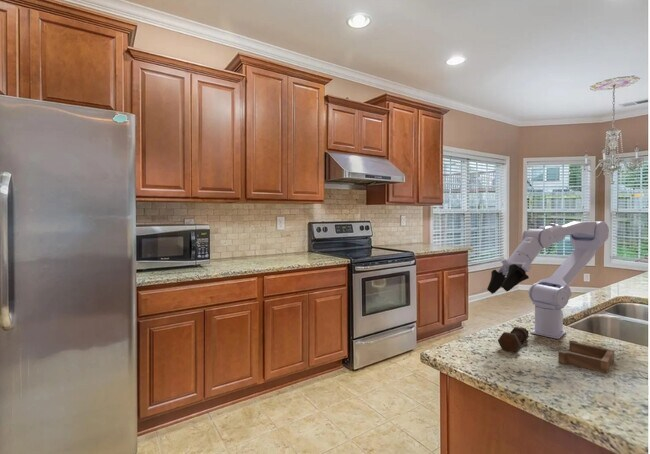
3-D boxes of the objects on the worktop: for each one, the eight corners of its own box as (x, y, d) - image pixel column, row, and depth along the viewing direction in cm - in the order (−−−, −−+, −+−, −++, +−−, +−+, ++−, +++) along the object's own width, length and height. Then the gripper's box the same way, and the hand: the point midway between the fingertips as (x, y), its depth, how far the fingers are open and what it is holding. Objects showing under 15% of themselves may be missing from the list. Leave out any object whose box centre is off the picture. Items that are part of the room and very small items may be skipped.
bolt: (525, 344, 108) (510, 357, 97) (510, 333, 111) (494, 344, 100) (536, 330, 106) (522, 341, 95) (521, 319, 109) (505, 329, 98)
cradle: (570, 349, 99) (570, 339, 99) (614, 359, 92) (614, 349, 92) (557, 362, 90) (557, 351, 90) (605, 375, 83) (606, 363, 83)
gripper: (498, 254, 114) (474, 283, 111) (526, 244, 100) (500, 277, 97) (514, 269, 113) (491, 299, 110) (546, 261, 100) (520, 295, 96)
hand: (497, 290), depth 103 cm, fingers open, 7 cm apart
